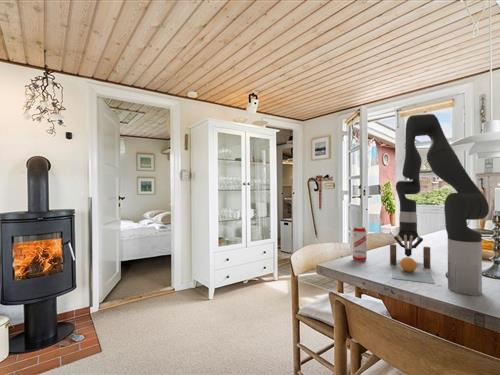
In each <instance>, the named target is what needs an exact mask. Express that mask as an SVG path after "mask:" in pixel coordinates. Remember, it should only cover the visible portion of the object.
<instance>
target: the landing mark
mask: <svg viewBox="0 0 500 375" xmlns="http://www.w3.org/2000/svg"><path fill="white" fill-rule="evenodd" d="M391 279H393V280H399V281H400V280H402V281H410V282H415V283H422V284H423V283H424V284H430V285H431V284H432V285H436V283H435V280H434V277H433V275H432V273H431V272H426V271H424V272H423V271H418V270H417V271H416V270H414V271H413V272H406V271H404V270H403V269H397V268H391Z"/></svg>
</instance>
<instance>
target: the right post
mask: <svg viewBox="0 0 500 375" xmlns="http://www.w3.org/2000/svg"><path fill="white" fill-rule="evenodd" d="M422 249H423V250H422V251H423V253H422V254H423V255H422V257H423V260H422V261H423V264H422V265H423V268H424V269H427V270H428V269H429V270H430V269H431V247H430V246H423V248H422Z"/></svg>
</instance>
